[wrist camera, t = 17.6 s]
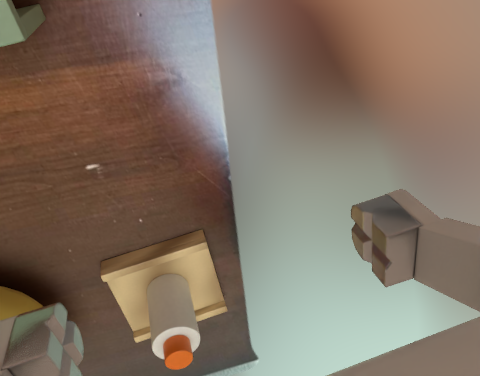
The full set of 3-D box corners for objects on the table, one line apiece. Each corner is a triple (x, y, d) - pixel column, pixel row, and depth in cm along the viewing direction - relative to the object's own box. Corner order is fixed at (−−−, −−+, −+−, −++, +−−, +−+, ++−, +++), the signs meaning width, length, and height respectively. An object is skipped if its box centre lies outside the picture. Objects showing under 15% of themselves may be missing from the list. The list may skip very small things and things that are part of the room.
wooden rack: (202, 229, 46) (206, 241, 44) (223, 297, 53) (227, 311, 51) (100, 261, 45) (100, 276, 43) (135, 327, 52) (136, 343, 49)
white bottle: (182, 268, 47) (197, 336, 38) (193, 296, 49) (208, 366, 41) (141, 281, 46) (146, 354, 38) (153, 309, 49) (161, 383, 40)
